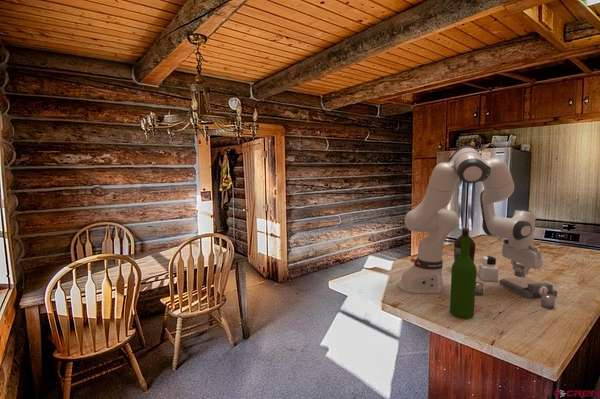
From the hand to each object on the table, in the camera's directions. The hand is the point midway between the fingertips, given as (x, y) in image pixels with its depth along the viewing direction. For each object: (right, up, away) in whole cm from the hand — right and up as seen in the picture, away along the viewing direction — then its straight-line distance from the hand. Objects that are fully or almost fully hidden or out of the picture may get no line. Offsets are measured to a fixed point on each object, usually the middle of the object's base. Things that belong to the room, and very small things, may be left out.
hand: (520, 271), depth 153 cm
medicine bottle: (-6, -8, +16) cm, 18 cm away
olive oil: (-14, -6, +27) cm, 31 cm away
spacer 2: (0, -2, 0) cm, 2 cm away
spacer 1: (-22, -10, -3) cm, 24 cm away
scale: (+4, -9, +1) cm, 10 cm away
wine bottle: (-39, -13, -22) cm, 47 cm away
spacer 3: (0, -11, -17) cm, 20 cm away
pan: (+4, -6, +2) cm, 8 cm away
